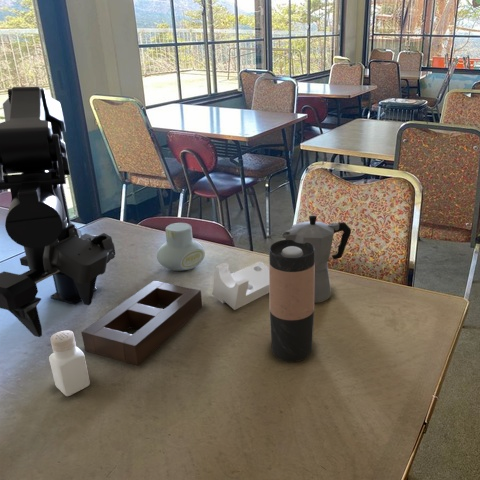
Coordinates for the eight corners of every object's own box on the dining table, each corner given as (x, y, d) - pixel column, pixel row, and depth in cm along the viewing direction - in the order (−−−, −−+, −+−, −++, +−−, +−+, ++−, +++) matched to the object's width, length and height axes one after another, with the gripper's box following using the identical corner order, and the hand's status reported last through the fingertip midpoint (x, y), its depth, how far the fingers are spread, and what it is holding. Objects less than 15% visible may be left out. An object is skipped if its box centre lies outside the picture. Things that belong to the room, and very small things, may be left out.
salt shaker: (79, 374, 78) (69, 325, 74) (92, 385, 76) (81, 335, 72) (54, 387, 75) (42, 336, 72) (66, 399, 73) (54, 347, 69)
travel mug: (280, 368, 81) (279, 261, 73) (264, 343, 87) (261, 243, 79) (320, 355, 84) (323, 253, 76) (301, 333, 91) (303, 235, 83)
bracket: (233, 313, 98) (238, 285, 94) (212, 294, 101) (216, 266, 97) (279, 290, 107) (285, 263, 103) (257, 273, 110) (263, 246, 106)
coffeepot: (289, 309, 98) (290, 227, 91) (275, 288, 106) (274, 211, 99) (356, 296, 104) (362, 218, 97) (338, 276, 112) (342, 203, 105)
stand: (84, 350, 84) (81, 331, 82) (156, 297, 101) (154, 280, 100) (138, 365, 81) (135, 345, 79) (202, 307, 98) (200, 290, 96)
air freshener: (188, 253, 121) (185, 216, 117) (211, 262, 117) (208, 224, 113) (152, 268, 113) (147, 229, 109) (174, 279, 109) (170, 238, 105)
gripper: (29, 256, 54) (56, 369, 60) (137, 207, 71) (150, 299, 77) (-42, 242, 58) (-10, 350, 64) (77, 198, 74) (93, 287, 80)
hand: (64, 319), depth 71 cm, fingers open, 9 cm apart
